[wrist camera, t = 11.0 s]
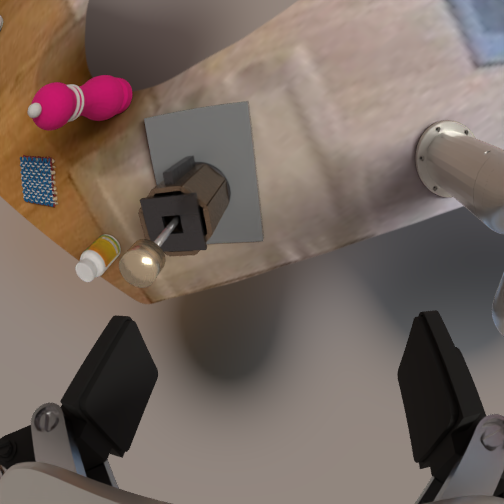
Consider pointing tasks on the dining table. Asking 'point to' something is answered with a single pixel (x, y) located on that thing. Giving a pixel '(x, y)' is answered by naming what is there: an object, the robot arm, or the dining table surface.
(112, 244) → the supplement bottle
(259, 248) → the dining table surface
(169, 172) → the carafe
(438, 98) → the dining table surface
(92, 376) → the robot arm
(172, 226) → the plunger
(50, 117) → the pepper mill
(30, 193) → the woven mat
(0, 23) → the energy drink can
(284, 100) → the dining table surface
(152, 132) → the slate board
